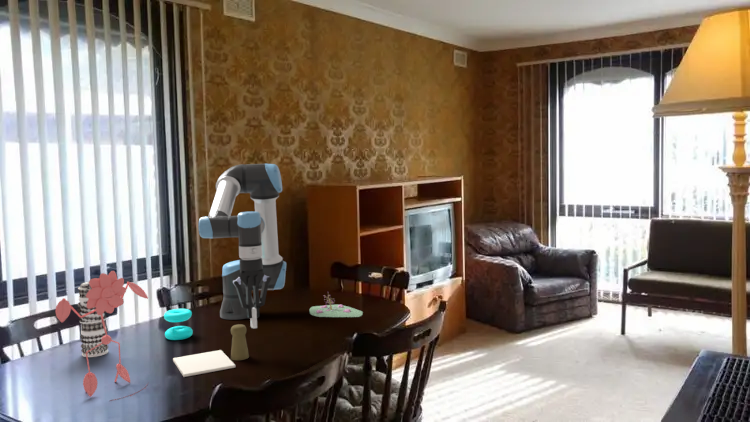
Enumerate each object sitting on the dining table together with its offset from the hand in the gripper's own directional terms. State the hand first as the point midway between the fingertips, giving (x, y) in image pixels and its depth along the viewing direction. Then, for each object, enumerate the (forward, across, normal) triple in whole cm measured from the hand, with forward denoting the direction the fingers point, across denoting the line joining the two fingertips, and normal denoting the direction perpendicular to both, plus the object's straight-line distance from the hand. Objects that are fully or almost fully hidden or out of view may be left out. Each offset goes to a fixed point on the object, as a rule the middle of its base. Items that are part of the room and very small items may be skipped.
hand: (253, 327), depth 206 cm
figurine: (+10, -45, -10) cm, 47 cm away
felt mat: (+10, -17, 0) cm, 20 cm away
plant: (+10, +48, +37) cm, 61 cm away
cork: (+10, -5, 0) cm, 11 cm away
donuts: (+10, -18, +36) cm, 42 cm away
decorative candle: (+10, -47, +32) cm, 58 cm away
